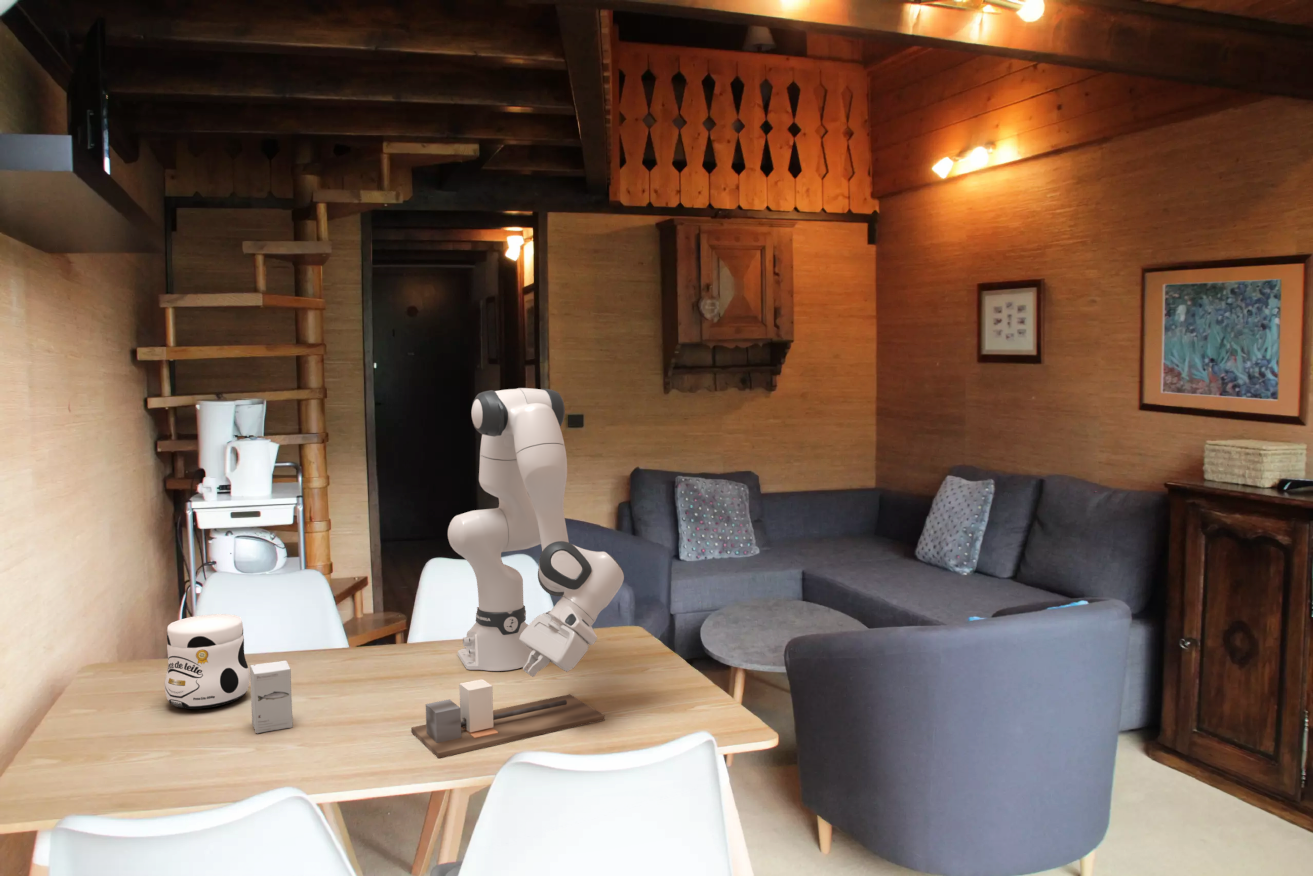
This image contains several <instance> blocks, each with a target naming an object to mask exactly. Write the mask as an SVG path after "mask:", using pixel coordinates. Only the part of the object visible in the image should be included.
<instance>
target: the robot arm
mask: <svg viewBox="0 0 1313 876" xmlns="http://www.w3.org/2000/svg"><path fill="white" fill-rule="evenodd" d="M470 413H471V420H472V424H473V427H474V429H475V430H476V431H477V432H478V433H479V434H481V440H480V449H479V466H478V467H479V468H478V469H479V470H478V471H479V473H478V482H479V486H480V487H481V488H482V490H483V491H484V492H485V493H488V494H490V495H491V496H493V497H495V498H498V503H499V504H498V507H496V508H486V509H476V510H475V509H474V510H470V511H467V512H464V513H460V514H456V515H455V516H454V517H453V518H452V519H451V520H450V522H449V525H448V527H447V539H448V542H449V545H450V547H451V548H452V550H453V551H454V552H455V553H457V554H458V555H459V556H461V557H462V558H464V559H465V561H466V562H468V563H469V566H470V567H471V568H472V570H473V573H474V575H475V579H476V586H477V597H478V606H477V607H476V613H475V623H474V624H473V626H471V627H470V629H469V630H468V631H467V632H466V636H465V637H463V638H462V645H463V648H461V649H459V650H457V657H458V658H459V659H460V661H461V662H462V665H463V666H464V668H465V669H466V670H471V671H475V670H480V671H489V672H490V671H491V672H500V671H501V672H502V671H503V672H504V671H513V670H517V669H520V668H521V669H522V670H523V671H524V672H525V673H526V674H528V675H529V676H531V677H535V676H536V675H537V674H538V673H539V672H540V671H541V670H543V669H544V668H546V667H548V665H549V664H550V663H551V664H553V665H555V666H556V667H558V668H559V669H561V670H563V671H565V672H566V673H567V672H569V671H571V670H573V669H574V668H575V667H576V666H577V665H578V663H579V662H580V661H581V660H582V658H583V657H584V656H585V654H586V653H587V652H588V650H589V648H590V647H589V646H592V645H594V644H595V642H597V640H598V636H597V634H596V632H595V630H594V628H593V625H594V623H595V622H596V620H597V618H598V616H599V614H600V613H601V611H603V610H605V608H607V606H608V605H609V604H610V603H611V602H612V600H613V599H614V597H615V596H616V595H617V593H618V591H619V590H620V588H621V587H622V585H623V583H624V580H625V574H624V570H623V568H622V567H621V564H620V562H618V560H616V559H615V557H613V556H612V555H611V554H610V553H609V552H606V551H595V550H589V549H585V548H582V547H579V546H577V545H575V544H573V543H571V542H570V541H569V536H568V529H567V525H566V524H567V523H566V518H565V512H564V509H565V508H564V507H565V506H564V500H565V492H566V491H565V490H566V487H567V478H568V477H567V476H568V459H567V451H566V446H565V445H566V444H565V441H564V437H563V433H562V430H561V426H562V425H563V423H564V420H565V418H566V417H565V415H566V408H565V401H564V399H563V397H562V396H561V395H560V393H559V392H558V391H556V390H553V389H550V388H541V389H538V388H532V387H531V388H528V387H518V388H508V389H501V390H493V389H491V390H485V391H482V392H479V393H478V394H477V395H476V396H475V398H474V399H473V400H472V405H471V412H470ZM539 545H540V547H541V553H540V555H539V560H538V569H537V578H538V579H537V580H538V583H539V585H540V587H541V589H542V590H544V592H546V593H547V594H549V595H551V596H552V597H553V596H554V597H560V599H559V600H558V601H557V602H556V604H555V605H554V606H553V607H552V609H551V610H548V611H547V612H544V613H542V614H539V615H537V616H536V617H535V618H534V619H533V620H532V621H531V622H530V623H529V624H528V623H526V619H527V618H526V617H527V616H526V614H527V610H526V606H525V605H524V580H523V576H522V573H521V572H519V570H517V569H516V568H515V567H512V566H510V565H507V564H505V563H504V562H503V560H502V553H505V552H506V553H507V552H513V551H522V550H528V549H532V548H533V547H537V546H539Z"/></svg>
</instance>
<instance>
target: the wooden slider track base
mask: <svg viewBox="0 0 1313 876" xmlns="http://www.w3.org/2000/svg"><path fill="white" fill-rule="evenodd" d="M605 716H606V715H605V714H603V713H601V712H600V711H599V710H596V708H593V707H591V706H590V705H588V704H587V703H585V702H583V701H582V700H581V699H579V698H577V697H575V696H573V694H570V693H569V694H564V695H560V696H555V697H549V698H545V699H540V700H536V701H532V702H524V703H522V704H516V705H512V706H511V705H510V706H508V707H507V706H506V707H502V708H497V709H493V728H488V729H483V730H479V731H474V732H469V731H468V730H467V727H464V726H466V721H463V722H461V711H460V705H457V703H455V702H453V701H452V700H451V699H446V700H445V699H444V700H441V701H439V700H438V701H434V702H429V703H426V704H425V724H420V725H417V726H411V727H410V731H411V733H412V734H413V736H415V737H416V739H418V740H419V741H420V742H421V743H422V745H424V746H425V747H426V748H427V749H428V750H429V751H430V752H431V753H432V754H433V755H434V754H435V755H436V756H435V755H434V756H435V757H436V758H437V759H441V758H445V757H449V756H454V755H458V754H462V753H467V752H472V751H476V750H480V749H485V748H489V747H492V746H493V747H494V746H498V745H502V744H506V743H510V742H515V741H519V740H524V739H528V738H532V737H537V736H541V735H546V734H549V733H553V732H559V731H563V730H567V729H571V728H575V727H580V726H584V725H589V724H593V723H597V722H598V723H599V722H601V721H605V718H606V717H605Z"/></svg>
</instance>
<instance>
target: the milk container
mask: <svg viewBox="0 0 1313 876" xmlns="http://www.w3.org/2000/svg"><path fill="white" fill-rule="evenodd" d="M166 641H167V643H166V644H167V646H166V650H167V670H166V674H165V677H164V692H165V696H166V699H167V701H168V703H169V704H170V705H173V706H174V707H176V708H179V709H185V710H187V709H188V710H190V709H192V710H193V709H195V710H197V709H198V710H201V709H208V708H209V709H210V708H211V709H212V708H215V707H221V706H223V705H227V704H230V703H232V702H233V703H234V702H235V701H237V700H239V699H240V698H242V697H244V696H245V694H246V693H247V692H248V690H249V687H250V667H249V666H248V665H249V664H248V663H247V659H246V656H245V637H244V626H243V621H242V617H241V616H238V615H235V614H227V613H218V614H217V613H216V614H213V613H212V614H202V615H197V616H190V617H189V616H188V617H186V618H182V619H178V620H176V621H173V622H171V623H170V624H168V625H167V629H166Z"/></svg>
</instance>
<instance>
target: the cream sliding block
mask: <svg viewBox="0 0 1313 876" xmlns="http://www.w3.org/2000/svg"><path fill="white" fill-rule="evenodd" d="M458 686H459V687H458V688H459V707H460V711H461V722H463V721H466V726H464V727H467V730H468V731H469V732H474V731H479V730H483V729H488V728H493V710H494V702H493V701H494V697H493V693H494V692H493V685H492V684H491V683H489V682H487V681H486V680H484V679H483V678H482V679H475V680H471V681H467V682H460V683H459V685H458Z"/></svg>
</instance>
